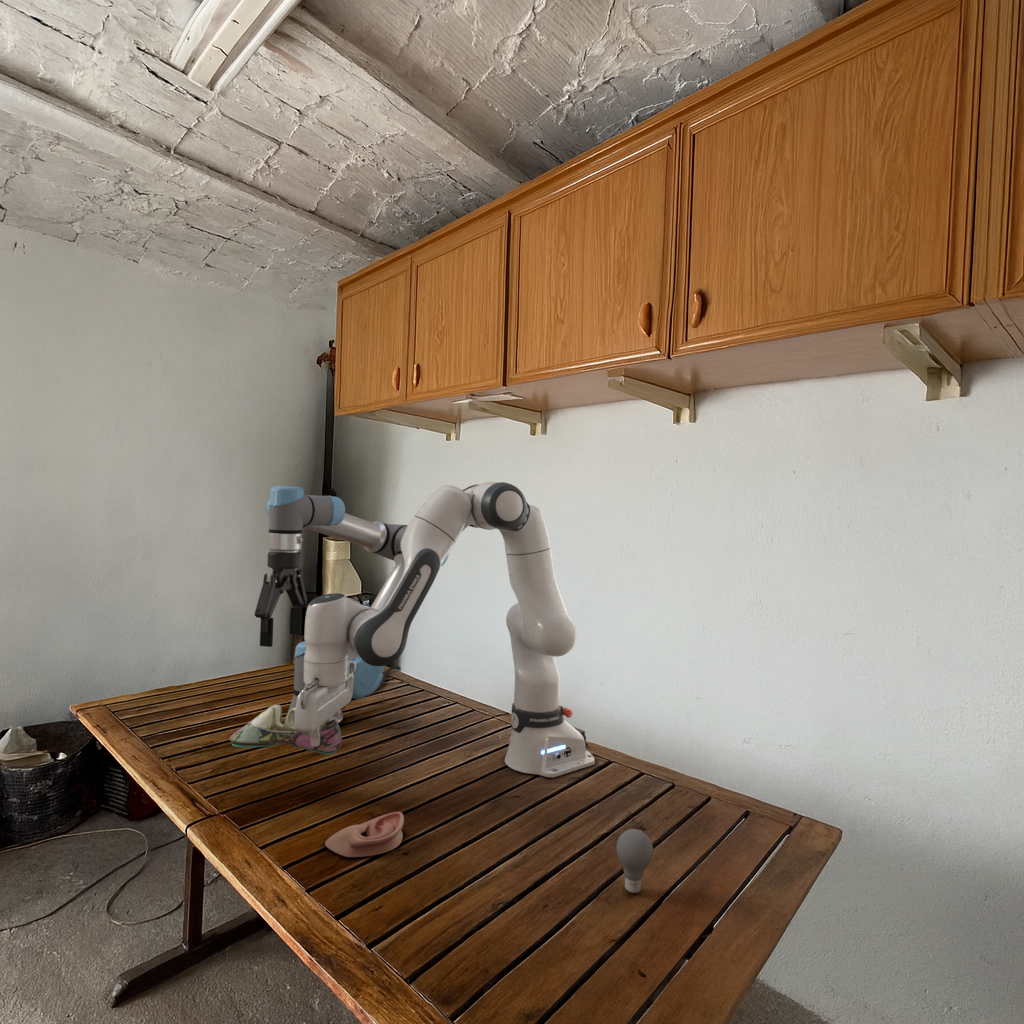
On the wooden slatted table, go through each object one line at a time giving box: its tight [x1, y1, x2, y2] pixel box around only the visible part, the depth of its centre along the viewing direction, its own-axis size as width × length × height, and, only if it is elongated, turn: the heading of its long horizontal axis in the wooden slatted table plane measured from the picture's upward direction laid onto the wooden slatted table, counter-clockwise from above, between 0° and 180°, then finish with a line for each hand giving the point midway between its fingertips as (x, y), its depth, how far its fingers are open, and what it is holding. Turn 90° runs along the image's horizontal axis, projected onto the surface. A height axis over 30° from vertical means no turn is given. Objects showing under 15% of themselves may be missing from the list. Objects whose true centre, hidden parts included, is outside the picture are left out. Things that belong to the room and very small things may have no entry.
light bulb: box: [615, 828, 654, 894], centre depth 106 cm, size 6×6×10 cm
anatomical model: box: [324, 811, 405, 858], centre depth 117 cm, size 13×4×12 cm
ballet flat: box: [229, 704, 343, 756], centre depth 134 cm, size 8×24×9 cm, turn 81°
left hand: (281, 640), depth 151 cm, fingers open, 13 cm apart
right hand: (324, 737), depth 132 cm, fingers closed on ballet flat, 6 cm apart
